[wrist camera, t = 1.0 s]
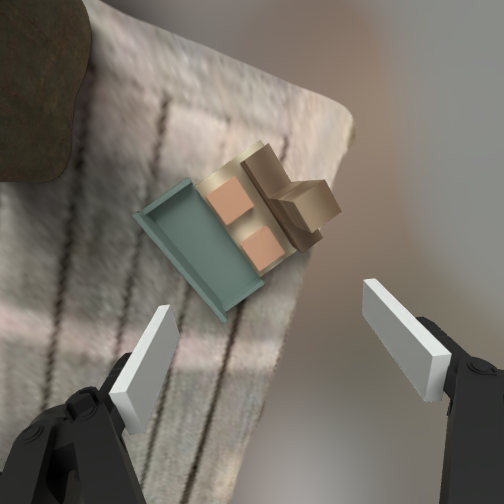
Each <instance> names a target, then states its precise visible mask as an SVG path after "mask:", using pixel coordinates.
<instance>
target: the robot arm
mask: <svg viewBox="0 0 504 504" xmlns="http://www.w3.org/2000/svg"><path fill="white" fill-rule="evenodd" d="M362 308H363V309H362V315H363V316H364V317H365V319H366V320H367V322H368V323H369V325H370V326H371V327H372V329H373V330H374V332H375V333H376V334H377V336H378V337H379V338H380V340H381V341H382V343H383V344H384V346H385V347H386V348H387V350H388V351H389V353H390V354H391V356H392V357H393V358H394V360H395V361H396V362H397V364H398V365H399V367H400V368H401V370H402V371H403V372H404V374H405V375H406V377H407V378H408V379H409V381H410V382H411V384H412V385H413V386H414V388H415V389H416V391H417V392H418V394H419V395H420V396H421V398H422V399H423V400H424V402H430V401H439V400H442V396H443V391H444V392H445V393H446V394H447V395H448V396H449V398H450V403H449V407H448V412H447V416H448V422H447V432H446V441H445V451H444V461H443V471H442V482H441V492H440V501H439V504H504V370H500V369H497V368H496V367H495V366H494V365H492V364H491V363H489V362H487V361H485V360H483V359H480V358H476V357H471V356H470V355H469V354H468V353H466V351H464V350H463V349H462V348H461V347H460V346H459V345H458V344H457V343H456V342H455V341H453V340H452V339H451V338H450V337H449V336H447V334H446V333H444V331H442V330H441V329H440V328H439V327H438V326H437V325H436V324H435V323H434V322H432V321H430V320H428V319H427V318H425V317H414V316H412V315H411V314H410V313H409V312H408V311H407V310H406V309H405V308H404V307H403V306H402V305H401V304H400V303H399V302H398V301H397V300H396V299H395V298H394V297H393V296H392V295H391V294H390V293H389V292H388V291H387V290H386V289H385V288H384V287H383V286H382V285H381V284H380V283H379V282H378V281H377V280H376V279H368V280H364V281H363V305H362ZM179 338H180V335H179V332H178V328H177V325H176V322H175V319H174V315H173V312H172V309H171V305H163V306H159V307H158V309H157V311H156V313H155V314H154V316H153V318H152V319H151V321H150V323H149V325H148V326H147V328H146V330H145V332H144V333H143V335H142V337H141V339H140V340H139V342H138V344H137V345H136V347H135V349H134V351H133V352H131V353H125V354H124V355H123V356H122V357H121V358H120V359H119V360H118V361H117V363H116V364H115V366H114V367H113V370H112V371H111V372H110V374H109V377H107V379H106V380H105V382H104V383H103V385H102V387H101V388H100V390H99V391H98V390H97V388H96V387H86V388H83V389H81V390H79V391H77V392H76V393H75V394H73V395H72V396H71V397H70V398H69V399H68V400H67V401H66V403H65V404H63V405H59V406H56V407H53V408H50V409H48V410H46V411H44V412H43V413H41V414H40V415H38V416H37V417H36V418H35V419H34V420H33V421H32V423H31V424H30V425H29V427H27V428H26V429H25V430H24V431H22V433H21V434H20V435H19V436H18V437H17V438H16V440H15V442H14V443H13V446H12V448H11V451H10V454H9V456H8V459H7V461H6V464H5V466H4V469H3V472H0V504H146V501H145V498H144V496H143V493H142V490H141V487H140V485H139V482H138V479H137V476H136V473H135V471H134V468H133V465H132V462H131V460H130V457H129V454H128V451H127V449H126V446H125V443H124V440H123V438H122V436H121V434H122V432H123V430H124V428H125V427H126V429H127V431H128V433H129V434H137V433H145V430H146V428H147V425H148V422H149V420H150V417H151V414H152V411H153V409H154V406H155V403H156V401H157V398H158V395H159V392H160V390H161V387H162V384H163V381H164V379H165V376H166V373H167V371H168V368H169V365H170V362H171V360H172V357H173V354H174V352H175V349H176V346H177V343H178V341H179Z"/></svg>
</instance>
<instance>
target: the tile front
mask: <svg viewBox="0 0 504 504" xmlns="http://www.w3.org/2000/svg"><path fill="white" fill-rule="evenodd" d="M206 197H207V199H208V200H209V202H210V203H211V204H212V206H213V207H214V209H215V210H216V211H217V213H218V214H219V216H220V217H221V218H222V220H223V221H224V223H225V224H226V225H228V224H229V223H231V222H232V221H233V220H235V219H236V218H238V217H239V216H240V215H242V214H243V213H245V212H246V211H247V210H249V209H250V208H252V207H253V206H254V204H253V203H252V201H251V200H250V198H249V197H248V195H247V194H246V192H245V191H244V189H243V188H242V186H241V184H240V183H239V181H238V180H237V178H236V177H235V176H233V177H232V178H230V179H229V180H227V181H226V182H225V183H223V184H222V185H220V186H219V187H217V188H216V189H215V190H213V191H212V192H210V193H209V194H208V195H206Z"/></svg>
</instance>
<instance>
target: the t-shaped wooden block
mask: <svg viewBox="0 0 504 504" xmlns="http://www.w3.org/2000/svg"><path fill="white" fill-rule="evenodd" d="M240 164H241V166H242V167H243V169H244V171H245V172H246V174H247V175H248V177H249V178H250V180H251V182H252V183H253V185H254V186H255V188H256V190H257V191H258V193H259V194H260V196H261V197H262V199H263V201H264V202H265V204H266V205H267V207H268V209H269V210H270V212H271V213H272V215H273V216H274V218H275V220H276V221H277V223H278V224H279V226H280V227H281V229H282V231H283V232H284V234H285V235H286V237H287V239H288V240H289V242H290V243H291V245H292V246H293V247H294V248H295V249H297V250H298V251H300V252H301V253H303V252H304V251H306V250H307V249H308V248H310V247H311V246H312V245H314V244H315V243H317V242H318V241H319V240H321V239H322V238H323V237H322V235H321V233H320V232H319V230H318V228H320V227H321V226H322V225H324V224H325V223H326V222H328V221H329V220H331V219H332V218H333V217H335V216H336V215H338V214H339V213H340V212H341V209H340V208H339V206H338V204H337V202H336V200H335V198H334V196H333V194H332V192H331V190H330V188H329V186H328V185H327V183H326V181H325V180H311V181H296V182H291V181H290V179H289V178H288V176H287V174H286V172H285V171H284V169H283V167H282V165H281V164H280V162H279V160H278V158H277V157H276V155H275V153H274V152H273V150H272V148H271V146H270V145H269V143H268V144H267V145H265V146H264V147H262V148H261V149H259V150H258V151H256V152H255V153H253V154H252V155H251V156H249V157H248V158H246V159H245V160H244V161H242V162H241V163H240Z"/></svg>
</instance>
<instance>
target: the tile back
mask: <svg viewBox="0 0 504 504" xmlns="http://www.w3.org/2000/svg"><path fill="white" fill-rule="evenodd" d="M240 245H241V246H242V248H243V249H244V250H245V252H246V253H247V255H248V256H249V257H250V259H251V260H252V262H253V263H254V264H255V266H256V267H257V269H258V270H259V271H261V270H262V269H264V268H265V267H266V266H268V265H269V264H271V263H272V262H273V261H275V260H276V259H278V258H279V257H280V256H282V255H283V254H285V252H284V250H283V249H282V247H281V246H280V244H279V243H278V241H277V240H276V238H275V237H274V235H273V234H272V232H271V230H270V229H269V228H268V227H267V226H265V225H264V226H263V227H261V228H260V229H259V230H257V231H256V232H254V233H253V234H252V235H250V236H249V237H247V238H246V239H245V240H243V241H242V242H240Z"/></svg>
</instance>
